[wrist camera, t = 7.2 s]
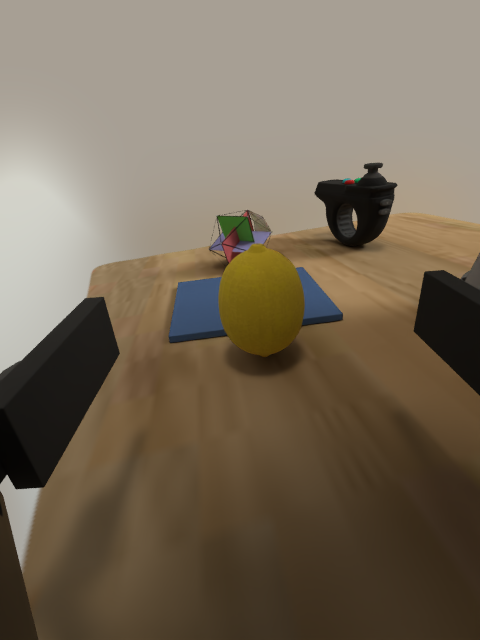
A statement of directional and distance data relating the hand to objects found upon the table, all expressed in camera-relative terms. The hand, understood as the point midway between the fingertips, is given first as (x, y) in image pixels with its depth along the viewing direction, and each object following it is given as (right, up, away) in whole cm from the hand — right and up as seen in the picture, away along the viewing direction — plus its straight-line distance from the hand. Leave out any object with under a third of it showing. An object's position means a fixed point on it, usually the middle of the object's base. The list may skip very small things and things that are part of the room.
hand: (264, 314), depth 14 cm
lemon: (+1, -3, +10) cm, 10 cm away
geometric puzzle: (-1, +6, +27) cm, 28 cm away
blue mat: (0, +2, +18) cm, 18 cm away
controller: (+14, +10, +32) cm, 36 cm away
